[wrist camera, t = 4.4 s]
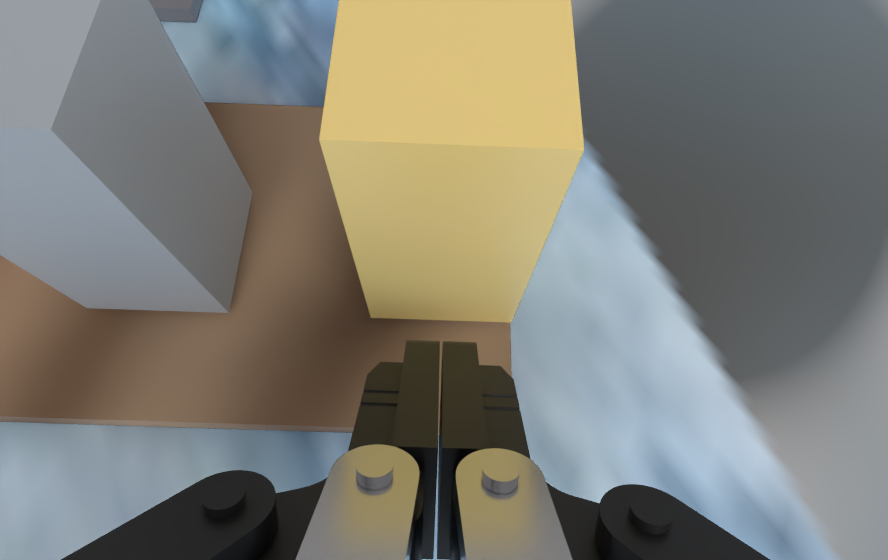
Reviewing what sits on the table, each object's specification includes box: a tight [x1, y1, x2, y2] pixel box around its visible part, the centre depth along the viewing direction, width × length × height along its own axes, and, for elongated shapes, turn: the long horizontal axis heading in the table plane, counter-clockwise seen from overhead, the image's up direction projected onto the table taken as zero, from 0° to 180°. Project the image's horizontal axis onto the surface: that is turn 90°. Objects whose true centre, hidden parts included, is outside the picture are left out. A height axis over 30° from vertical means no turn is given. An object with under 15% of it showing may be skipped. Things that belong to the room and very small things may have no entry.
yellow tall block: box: [319, 0, 584, 323], centre depth 13 cm, size 4×4×8 cm
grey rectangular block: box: [0, 0, 253, 313], centre depth 13 cm, size 4×4×8 cm
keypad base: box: [0, 102, 511, 435], centre depth 17 cm, size 23×11×1 cm, turn 88°
